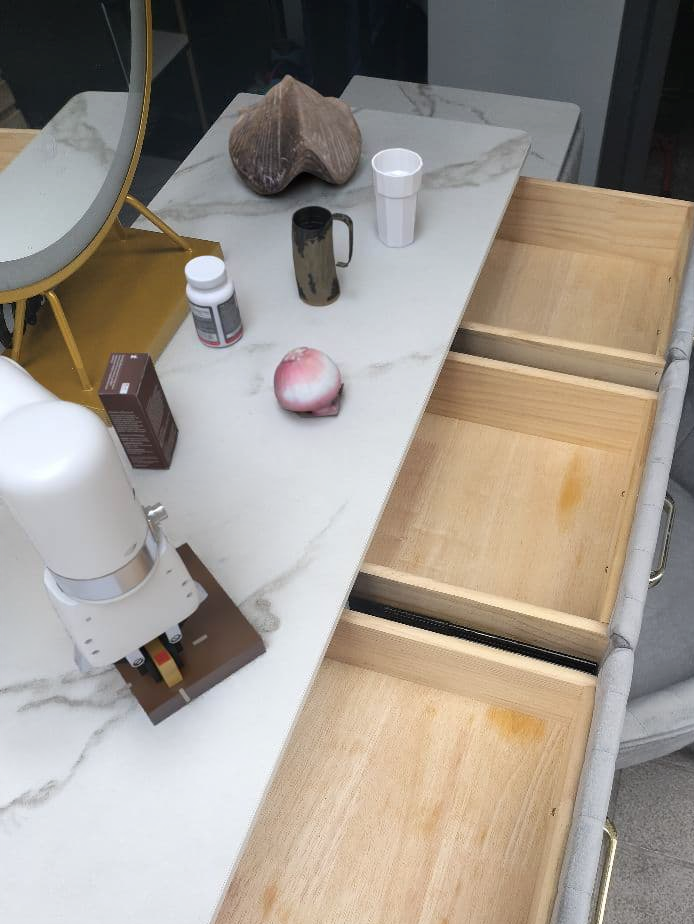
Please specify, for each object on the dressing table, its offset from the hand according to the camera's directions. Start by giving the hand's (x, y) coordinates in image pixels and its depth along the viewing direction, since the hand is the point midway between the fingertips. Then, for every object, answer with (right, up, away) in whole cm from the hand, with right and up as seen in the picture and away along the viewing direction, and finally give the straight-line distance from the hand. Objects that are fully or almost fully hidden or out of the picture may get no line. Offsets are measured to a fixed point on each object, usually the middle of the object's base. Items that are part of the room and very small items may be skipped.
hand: (161, 662), depth 74 cm
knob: (0, 0, 0) cm, 0 cm away
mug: (+12, +43, +34) cm, 56 cm away
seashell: (+6, +66, +50) cm, 83 cm away
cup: (+21, +54, +41) cm, 71 cm away
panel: (0, +2, +5) cm, 5 cm away
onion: (+11, +27, +23) cm, 37 cm away
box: (-6, +21, +18) cm, 29 cm away
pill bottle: (-1, +37, +29) cm, 47 cm away
